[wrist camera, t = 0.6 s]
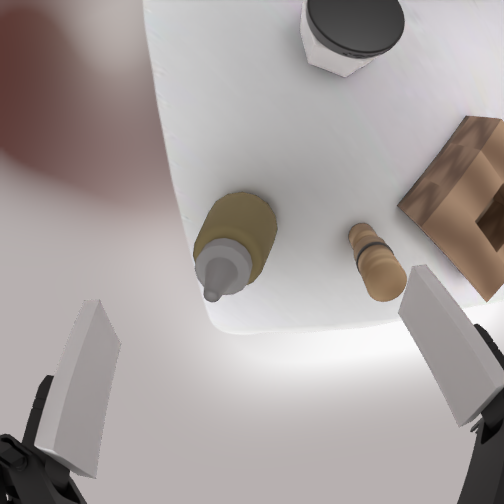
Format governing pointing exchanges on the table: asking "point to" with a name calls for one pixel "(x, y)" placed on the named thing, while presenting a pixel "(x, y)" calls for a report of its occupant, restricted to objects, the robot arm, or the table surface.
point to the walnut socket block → (466, 202)
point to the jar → (349, 32)
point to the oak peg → (376, 264)
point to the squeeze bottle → (233, 244)
